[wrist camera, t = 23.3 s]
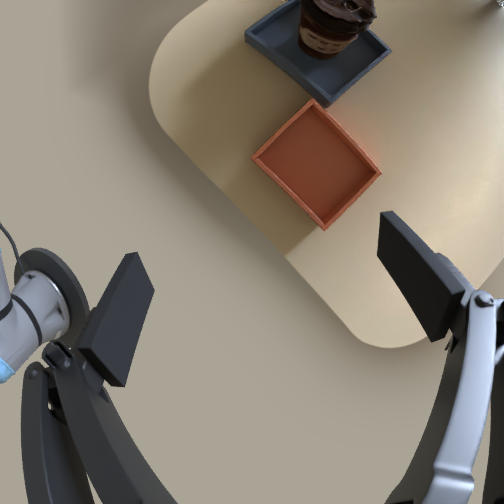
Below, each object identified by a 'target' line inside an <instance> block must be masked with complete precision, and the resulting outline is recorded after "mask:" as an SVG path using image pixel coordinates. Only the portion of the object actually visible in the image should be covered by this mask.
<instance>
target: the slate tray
mask: <svg viewBox="0 0 504 504" xmlns="http://www.w3.org/2000/svg"><path fill="white" fill-rule="evenodd" d="M300 13H301V3H300V0H288V1H287V2H285V3H284V4H282V5H281V6H279V7H278V8H276V9H275V10H273V11H272V12H270V13H269V14H267V15H266V16H265V17H263V18H262V19H260V20H259V21H258V22H256V23H255V24H254V25H252V26H251V27H250V28H248V29H247V30H246V31H245V32H244V36H245V42H246V43H248V44H249V45H251V46H252V47H253V48H255V49H256V50H257V51H259V52H260V53H262V54H263V55H264V56H266V57H267V58H268V59H269V60H271V61H272V62H273V63H275V64H276V65H277V66H278V67H280V68H281V69H282V70H283V71H284V72H286V73H287V74H288V75H289V76H290V77H292V78H293V79H294V80H295V81H296V82H297V83H299V84H300V85H301V86H302V87H303V88H304V89H305V90H306V91H308V92H309V93H310V94H311V95H312V96H313V97H314V98H315V99H316V100H317V101H318V102H319V103H320V104H322V105H323V106H324V107H325V108H327V107H329V106H330V105H331V104H332V103H333V102H334V101H336V100H337V99H338V98H339V97H340V96H341V95H342V94H343V93H344V92H345V91H347V90H348V89H349V88H350V87H351V86H352V85H353V84H354V83H356V82H357V81H358V80H359V79H360V78H361V77H362V76H364V75H365V74H366V73H367V72H368V71H369V70H371V69H372V68H373V67H374V66H375V65H376V64H378V63H379V62H380V61H381V60H382V59H384V58H385V57H386V56H387V55H388V54H390V53H391V52H392V50H391V49H390V48H389V47H388V46H387V45H386V44H385V43H384V42H383V41H382V40H381V39H380V38H379V37H377V36H376V35H375V34H374V33H373V32H372V31H371V30H370V29H369V28H368V29H367V30H366V31H365V32H363V33H358V37H357V38H356V39H354V40H353V41H352V42H351V43H350V44H348V45H347V46H346V47H345V49H344V50H342V51H341V52H339V53H338V55H337V56H336V57H333V58H331V59H326V60H319V59H315V58H313V57H310V56H308V55H306V54H305V53H304V52H303V51H302V50H301V49H300V47H299V46H298V26H299V22H300V15H301V14H300Z"/></svg>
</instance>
